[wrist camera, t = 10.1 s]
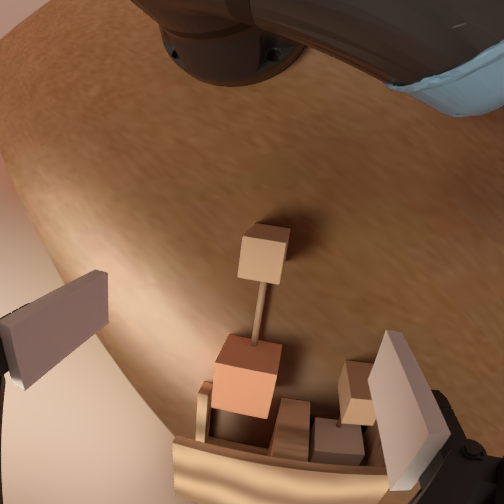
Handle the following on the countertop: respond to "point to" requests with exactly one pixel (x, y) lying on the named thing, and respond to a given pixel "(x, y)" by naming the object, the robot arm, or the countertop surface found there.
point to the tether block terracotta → (252, 350)
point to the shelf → (273, 465)
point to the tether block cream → (345, 420)
